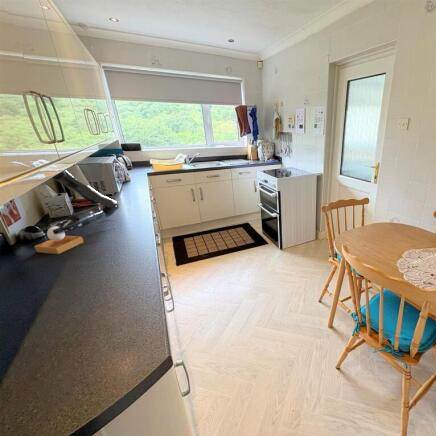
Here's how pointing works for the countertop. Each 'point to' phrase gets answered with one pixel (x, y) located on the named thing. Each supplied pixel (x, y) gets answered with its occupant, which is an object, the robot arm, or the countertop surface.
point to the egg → (55, 236)
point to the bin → (59, 245)
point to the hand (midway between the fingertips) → (48, 231)
